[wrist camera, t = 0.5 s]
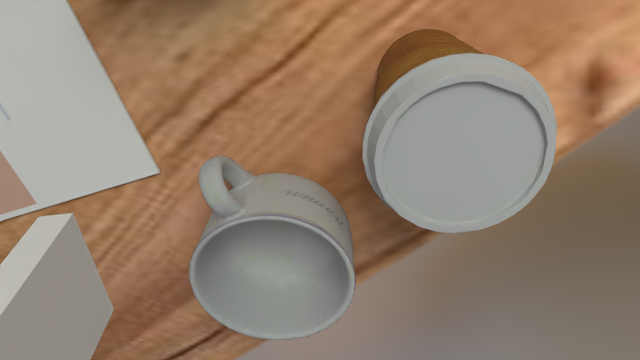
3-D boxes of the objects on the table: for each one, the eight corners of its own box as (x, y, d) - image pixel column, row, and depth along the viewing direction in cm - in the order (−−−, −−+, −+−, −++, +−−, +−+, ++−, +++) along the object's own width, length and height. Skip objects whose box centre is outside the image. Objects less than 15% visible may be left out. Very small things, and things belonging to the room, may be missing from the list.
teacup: (364, 256, 44) (372, 329, 37) (237, 283, 46) (221, 358, 39) (319, 99, 38) (317, 152, 31) (171, 136, 39) (138, 195, 32)
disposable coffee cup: (353, 142, 39) (363, 242, 29) (353, 5, 34) (365, 65, 24) (487, 139, 39) (547, 239, 28) (506, 0, 34) (585, 59, 24)
